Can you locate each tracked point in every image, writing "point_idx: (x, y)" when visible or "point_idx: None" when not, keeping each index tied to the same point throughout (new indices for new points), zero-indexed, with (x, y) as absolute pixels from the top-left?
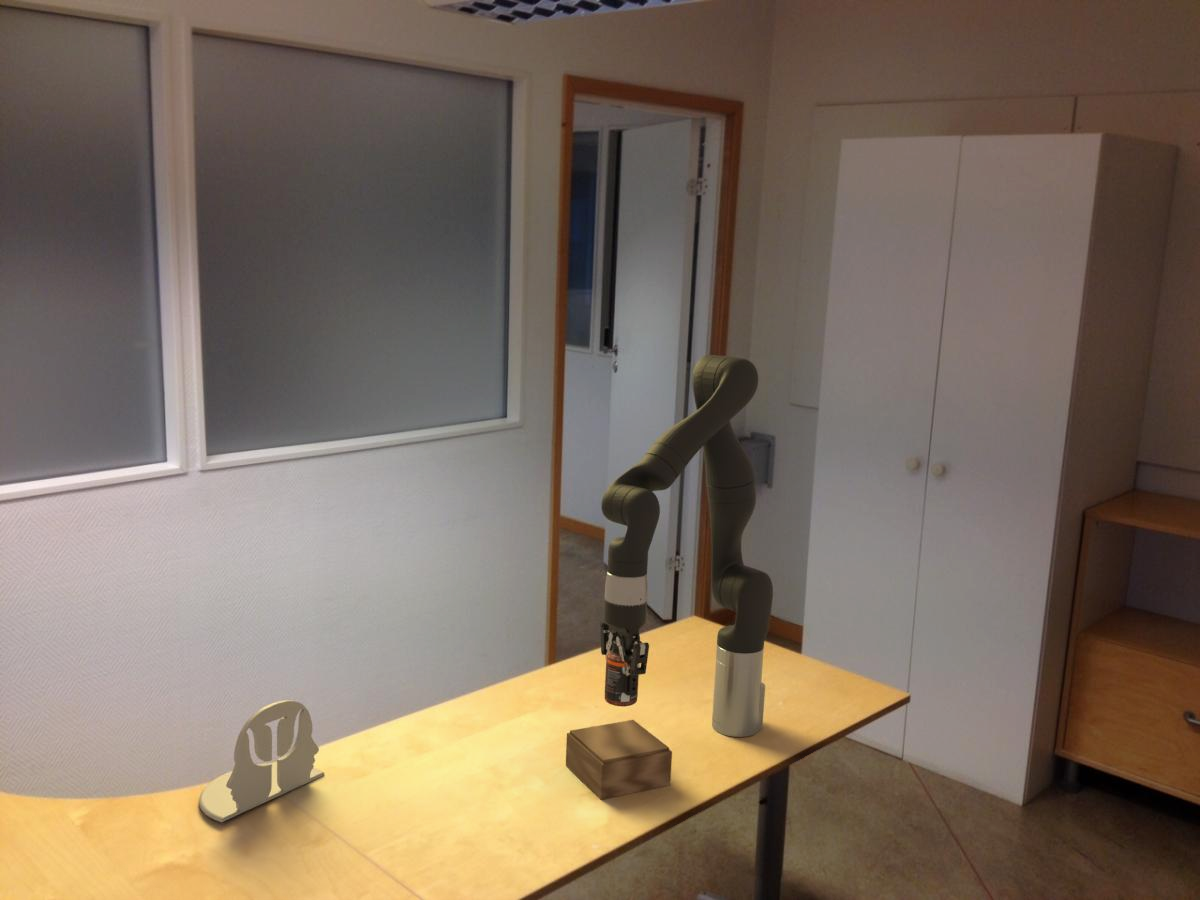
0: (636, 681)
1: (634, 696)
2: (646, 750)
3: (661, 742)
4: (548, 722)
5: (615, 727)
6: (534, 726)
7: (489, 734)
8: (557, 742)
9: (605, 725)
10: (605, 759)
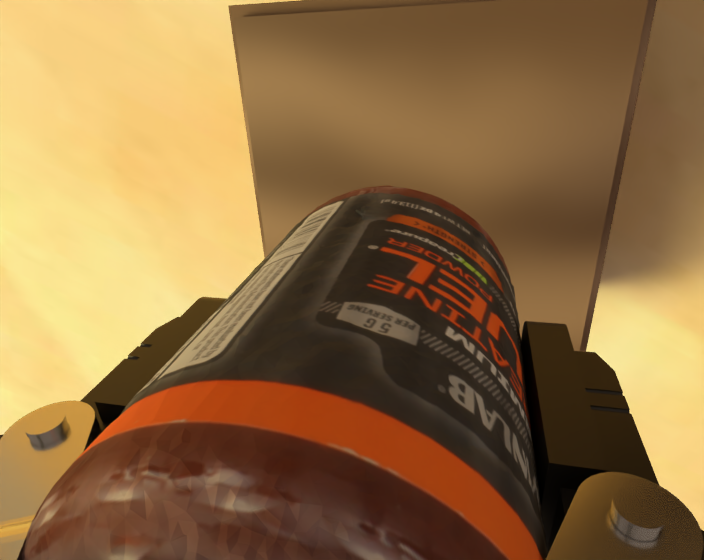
0: (635, 450)
1: (511, 289)
2: (601, 141)
3: (561, 3)
4: (20, 183)
5: (299, 155)
6: (48, 233)
7: (92, 352)
8: (157, 222)
9: (267, 187)
10: (575, 348)
